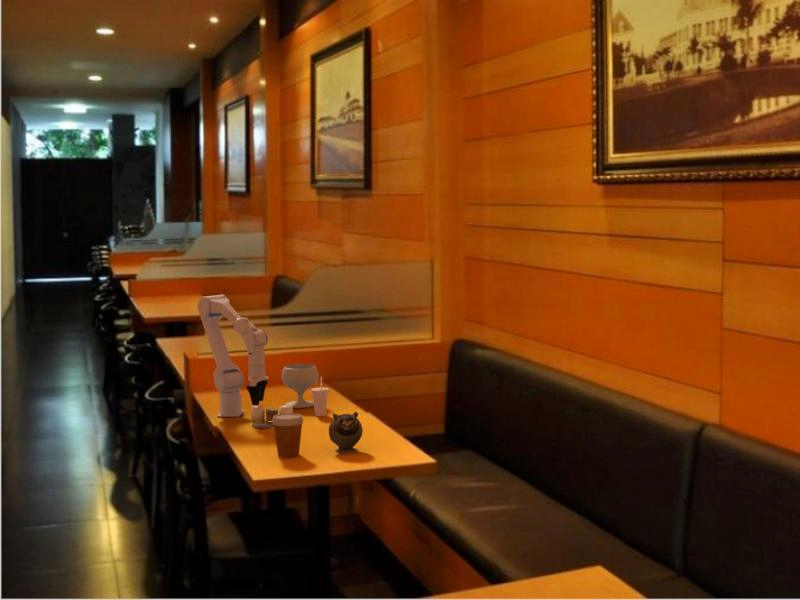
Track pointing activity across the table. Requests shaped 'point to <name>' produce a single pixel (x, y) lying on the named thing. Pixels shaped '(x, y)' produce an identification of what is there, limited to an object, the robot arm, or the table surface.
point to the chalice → (300, 381)
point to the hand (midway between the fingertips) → (257, 403)
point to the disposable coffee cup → (288, 433)
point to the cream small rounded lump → (286, 409)
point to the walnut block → (271, 413)
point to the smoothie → (320, 399)
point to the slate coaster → (263, 424)
